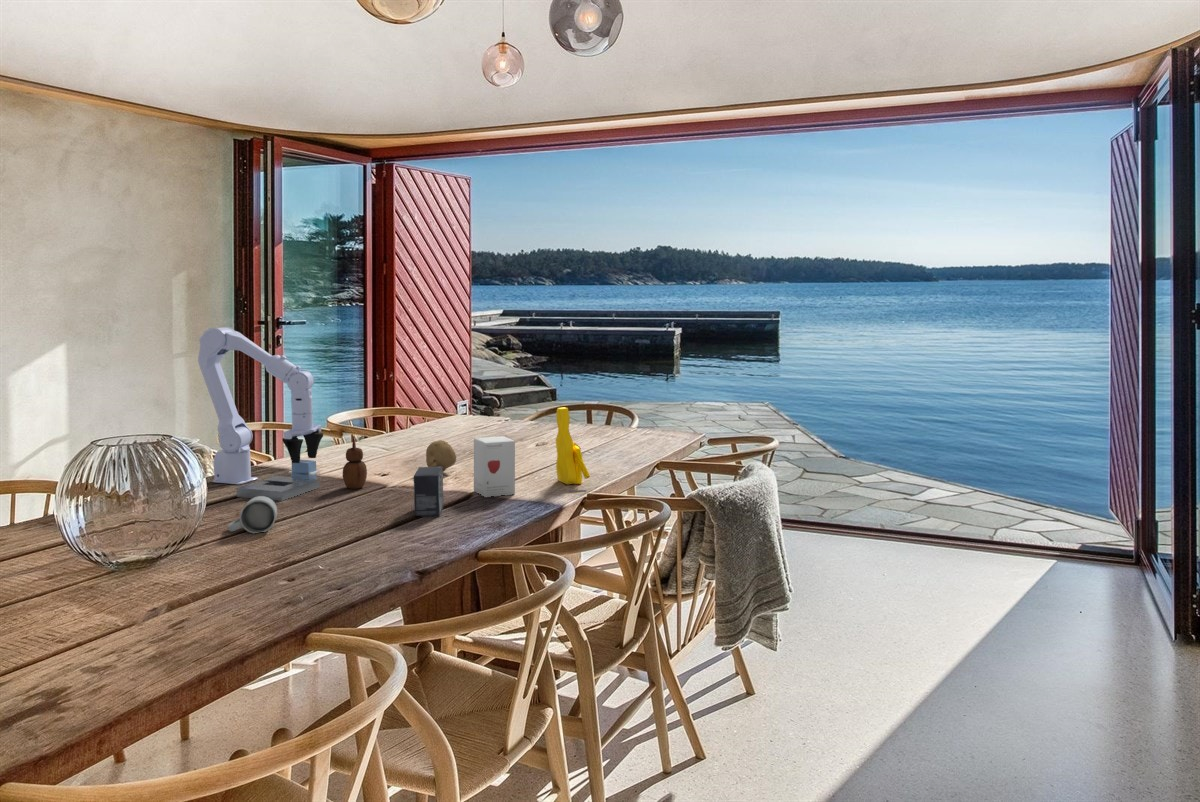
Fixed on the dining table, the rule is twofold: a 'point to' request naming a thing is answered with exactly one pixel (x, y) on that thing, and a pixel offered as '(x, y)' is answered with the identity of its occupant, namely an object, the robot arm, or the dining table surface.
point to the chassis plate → (278, 487)
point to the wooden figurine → (354, 468)
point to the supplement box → (494, 466)
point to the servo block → (304, 469)
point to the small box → (428, 491)
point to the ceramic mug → (256, 515)
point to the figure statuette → (568, 452)
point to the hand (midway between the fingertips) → (304, 460)
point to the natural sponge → (440, 455)
